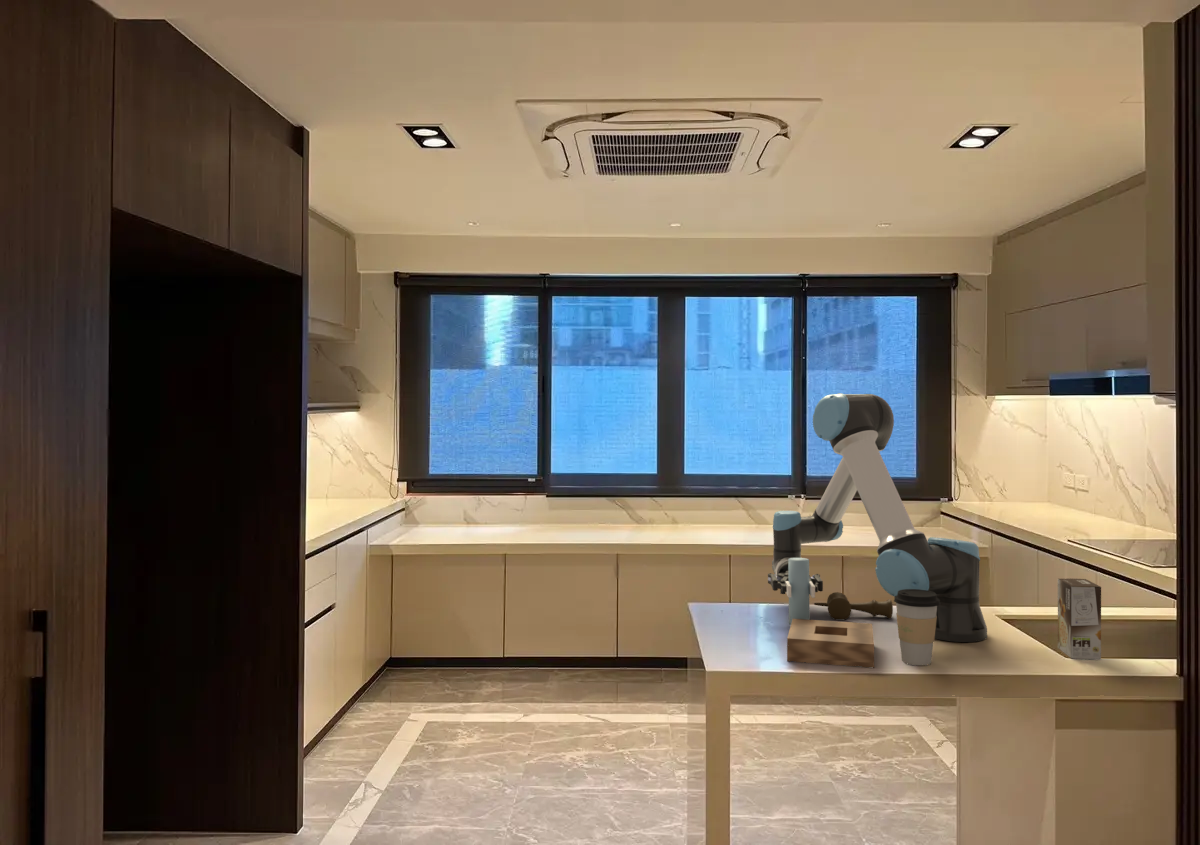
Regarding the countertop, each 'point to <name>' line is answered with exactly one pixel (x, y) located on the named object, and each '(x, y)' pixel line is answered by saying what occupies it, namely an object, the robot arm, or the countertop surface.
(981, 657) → the countertop surface
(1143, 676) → the countertop surface
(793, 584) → the peg
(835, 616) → the kendama
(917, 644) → the coffee cup
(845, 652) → the socket block
